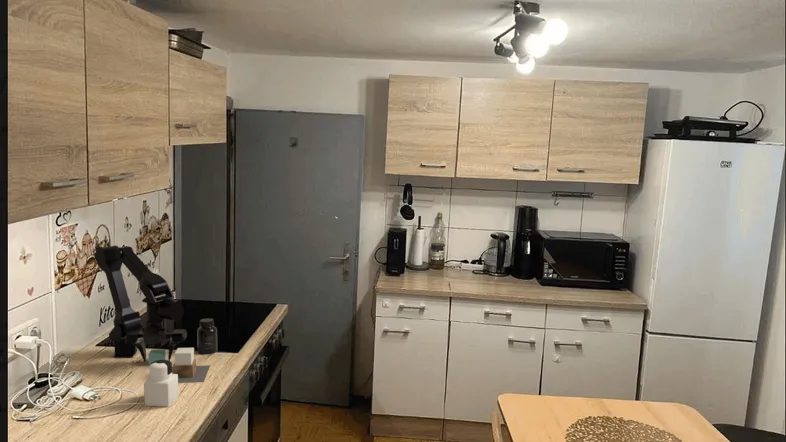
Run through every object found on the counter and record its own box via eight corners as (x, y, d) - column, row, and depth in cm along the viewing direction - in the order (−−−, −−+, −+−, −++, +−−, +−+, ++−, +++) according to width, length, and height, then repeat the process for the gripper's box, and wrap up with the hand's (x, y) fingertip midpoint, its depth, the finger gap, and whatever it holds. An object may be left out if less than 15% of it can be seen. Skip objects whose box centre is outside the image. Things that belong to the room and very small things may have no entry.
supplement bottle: (220, 349, 213) (219, 317, 211) (212, 356, 206) (212, 323, 204) (202, 348, 213) (201, 316, 212) (194, 355, 207) (193, 322, 205)
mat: (157, 385, 181) (157, 383, 180) (167, 367, 194) (167, 366, 194) (203, 383, 183) (203, 381, 183) (210, 366, 197) (210, 365, 196)
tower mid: (174, 365, 185) (174, 353, 185) (178, 359, 190) (177, 348, 189) (191, 364, 186) (191, 353, 185) (194, 359, 191) (193, 347, 190)
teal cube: (148, 367, 195) (148, 354, 194) (152, 362, 199) (151, 349, 199) (162, 366, 196) (162, 353, 195) (165, 361, 200) (165, 349, 200)
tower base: (173, 378, 185) (173, 366, 185) (177, 370, 191) (176, 359, 190) (192, 377, 186) (192, 365, 186) (196, 370, 192) (195, 358, 191)
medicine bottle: (155, 395, 173) (154, 357, 172) (178, 396, 173) (177, 357, 171) (144, 406, 166) (142, 366, 164) (168, 407, 166) (167, 367, 164)
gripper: (119, 324, 186) (121, 370, 188) (180, 322, 189) (181, 368, 191) (129, 314, 197) (130, 358, 199) (186, 312, 200) (187, 356, 202)
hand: (157, 360), depth 197 cm, fingers open, 8 cm apart
